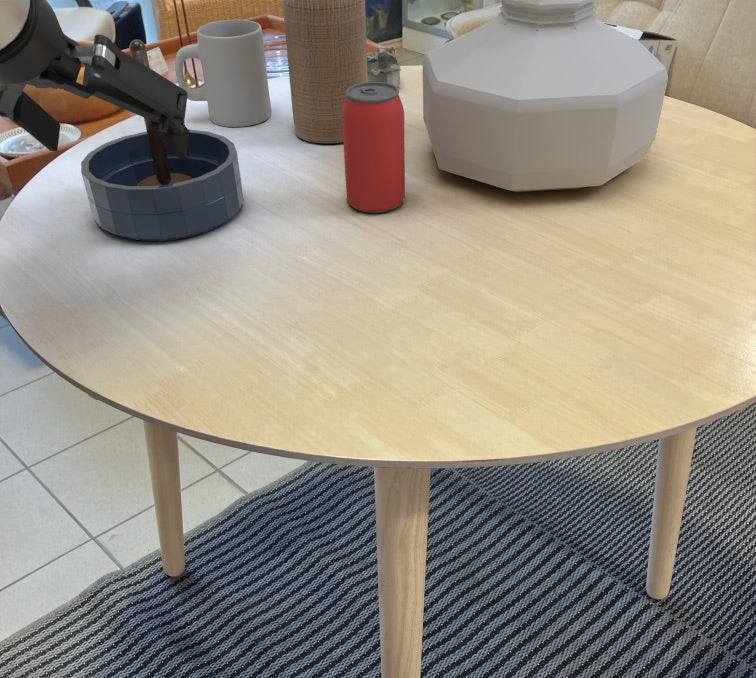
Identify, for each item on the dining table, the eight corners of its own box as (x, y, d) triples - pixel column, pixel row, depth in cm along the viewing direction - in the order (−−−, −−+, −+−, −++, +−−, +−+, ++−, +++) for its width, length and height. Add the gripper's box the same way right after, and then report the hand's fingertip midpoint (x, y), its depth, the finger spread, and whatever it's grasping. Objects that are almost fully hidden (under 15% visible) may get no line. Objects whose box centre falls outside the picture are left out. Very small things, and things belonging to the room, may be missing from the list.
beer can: (384, 185, 100) (381, 75, 92) (416, 205, 96) (416, 92, 88) (336, 199, 98) (328, 88, 89) (366, 220, 93) (361, 105, 85)
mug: (267, 102, 122) (257, 16, 114) (276, 123, 116) (266, 33, 108) (182, 112, 120) (166, 25, 112) (186, 133, 114) (170, 43, 106)
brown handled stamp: (132, 202, 97) (94, 38, 85) (184, 188, 100) (154, 26, 88) (153, 223, 93) (116, 53, 81) (207, 208, 96) (178, 41, 84)
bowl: (75, 203, 99) (60, 151, 95) (207, 169, 105) (199, 118, 101) (125, 259, 88) (111, 203, 84) (268, 217, 95) (262, 163, 91)
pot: (637, 222, 91) (674, 29, 78) (388, 194, 98) (384, 12, 85) (661, 128, 110) (693, -40, 98) (450, 110, 117) (455, -48, 105)
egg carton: (396, 75, 129) (396, 45, 126) (402, 92, 124) (402, 61, 121) (326, 79, 128) (324, 49, 126) (329, 96, 123) (327, 65, 120)
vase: (305, 116, 117) (285, -135, 98) (376, 119, 116) (368, -135, 97) (285, 143, 110) (259, -121, 91) (360, 147, 109) (349, -122, 90)
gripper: (-167, 55, 65) (-1, 171, 86) (139, 66, 61) (234, 185, 82) (-154, -41, 65) (8, 98, 86) (151, -37, 61) (244, 108, 82)
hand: (119, 141), depth 84 cm, fingers open, 13 cm apart
